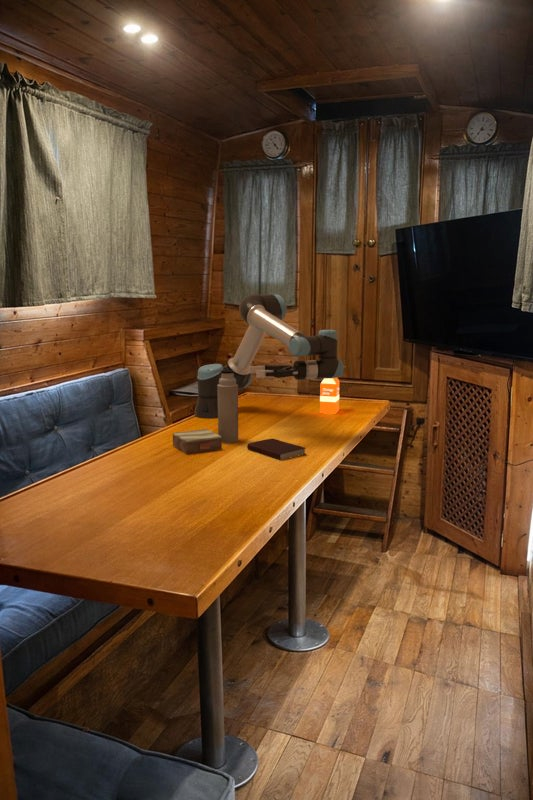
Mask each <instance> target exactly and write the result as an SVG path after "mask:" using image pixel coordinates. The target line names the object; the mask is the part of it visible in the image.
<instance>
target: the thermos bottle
mask: <svg viewBox="0 0 533 800" xmlns="http://www.w3.org/2000/svg"><path fill="white" fill-rule="evenodd" d="M221 373H222V374H221V378H220V379H219V384H218V385H217V389H218V418H217V419H218V420H217V434H218V435H220V436H222V444H233V443H237V442H238V441H239V389H238V384H236V379H235V378H234V374H233V373H234V371H233V370H222V371H221Z"/></svg>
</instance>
